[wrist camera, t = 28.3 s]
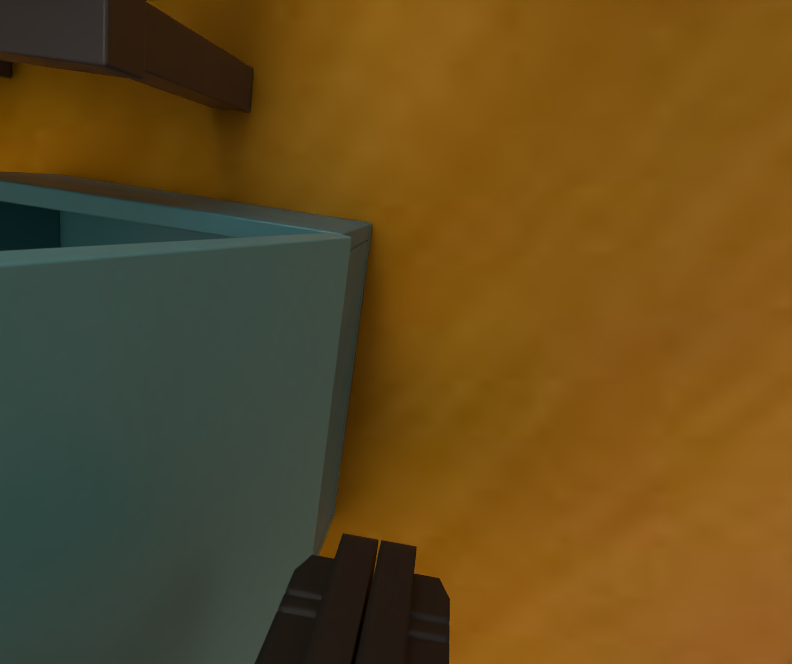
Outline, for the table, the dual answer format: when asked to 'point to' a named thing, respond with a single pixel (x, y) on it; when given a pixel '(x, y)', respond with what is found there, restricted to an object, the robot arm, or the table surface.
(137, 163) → the table surface
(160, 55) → the stool
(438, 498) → the table surface
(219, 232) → the teal open box
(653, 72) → the table surface
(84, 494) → the lid
